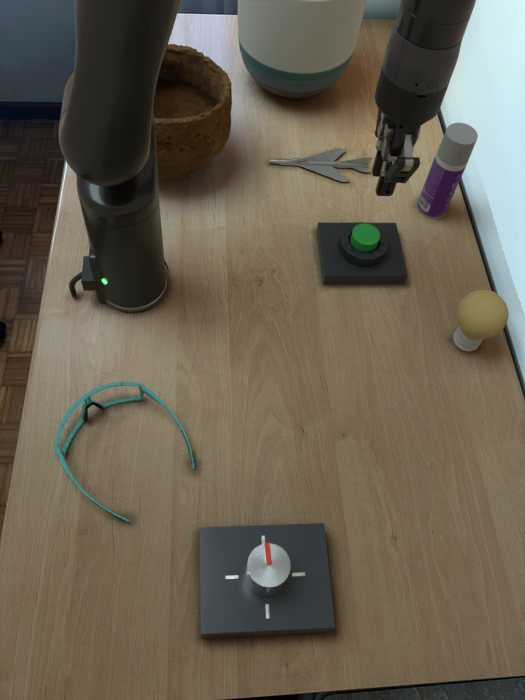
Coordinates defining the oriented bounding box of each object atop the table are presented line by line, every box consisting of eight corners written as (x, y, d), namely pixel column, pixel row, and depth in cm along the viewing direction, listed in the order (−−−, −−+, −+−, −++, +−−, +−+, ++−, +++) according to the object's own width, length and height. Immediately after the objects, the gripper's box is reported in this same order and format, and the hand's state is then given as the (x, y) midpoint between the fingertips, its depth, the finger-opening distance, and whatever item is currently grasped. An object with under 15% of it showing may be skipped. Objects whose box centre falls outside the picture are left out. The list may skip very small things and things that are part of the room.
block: (322, 284, 96) (326, 267, 92) (315, 231, 101) (319, 213, 98) (403, 284, 97) (410, 267, 94) (392, 232, 102) (399, 214, 99)
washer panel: (200, 638, 70) (200, 634, 68) (199, 535, 76) (199, 527, 73) (330, 631, 72) (335, 627, 69) (320, 530, 77) (324, 522, 75)
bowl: (130, 111, 112) (120, 29, 99) (240, 131, 111) (244, 51, 99) (96, 191, 102) (80, 111, 89) (216, 213, 102) (217, 136, 89)
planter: (350, 124, 114) (377, 5, 96) (232, 117, 113) (237, -6, 95) (344, 50, 125) (367, -70, 106) (236, 43, 124) (240, -80, 105)
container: (444, 222, 104) (478, 147, 91) (415, 216, 104) (444, 141, 91) (446, 200, 106) (479, 125, 94) (417, 194, 107) (446, 119, 94)
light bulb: (459, 368, 90) (486, 328, 82) (433, 332, 93) (455, 290, 84) (496, 351, 92) (526, 311, 83) (469, 316, 95) (495, 274, 86)
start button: (351, 252, 95) (354, 244, 93) (348, 231, 97) (350, 223, 95) (379, 252, 95) (382, 244, 94) (375, 231, 97) (377, 223, 96)
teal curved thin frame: (133, 376, 86) (131, 359, 81) (207, 462, 82) (210, 449, 78) (39, 442, 80) (32, 428, 76) (114, 537, 77) (111, 528, 72)
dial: (288, 595, 70) (293, 584, 66) (247, 599, 70) (249, 589, 65) (283, 553, 73) (288, 540, 68) (243, 557, 72) (245, 544, 68)
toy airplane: (267, 147, 110) (268, 135, 108) (392, 153, 111) (395, 142, 109) (267, 180, 106) (269, 169, 104) (397, 186, 107) (400, 176, 105)
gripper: (373, 26, 75) (346, 146, 89) (393, 110, 67) (360, 225, 82) (438, 29, 75) (400, 147, 90) (465, 112, 68) (419, 225, 83)
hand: (381, 184), depth 86 cm, fingers open, 3 cm apart
